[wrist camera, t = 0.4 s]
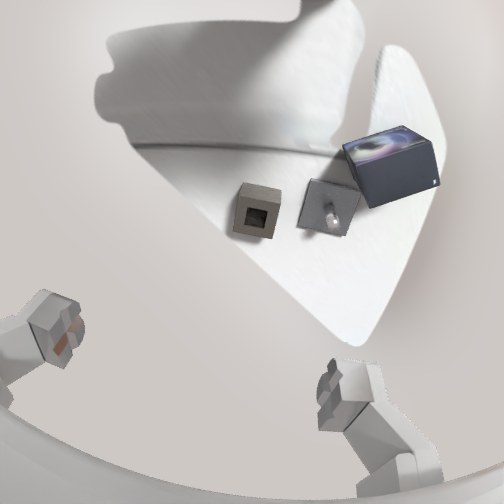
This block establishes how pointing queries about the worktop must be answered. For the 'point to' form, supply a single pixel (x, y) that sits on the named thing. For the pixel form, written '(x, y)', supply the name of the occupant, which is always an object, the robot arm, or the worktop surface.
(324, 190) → the shaft stand
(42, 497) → the robot arm
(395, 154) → the small box
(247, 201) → the collar
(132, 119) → the worktop surface
